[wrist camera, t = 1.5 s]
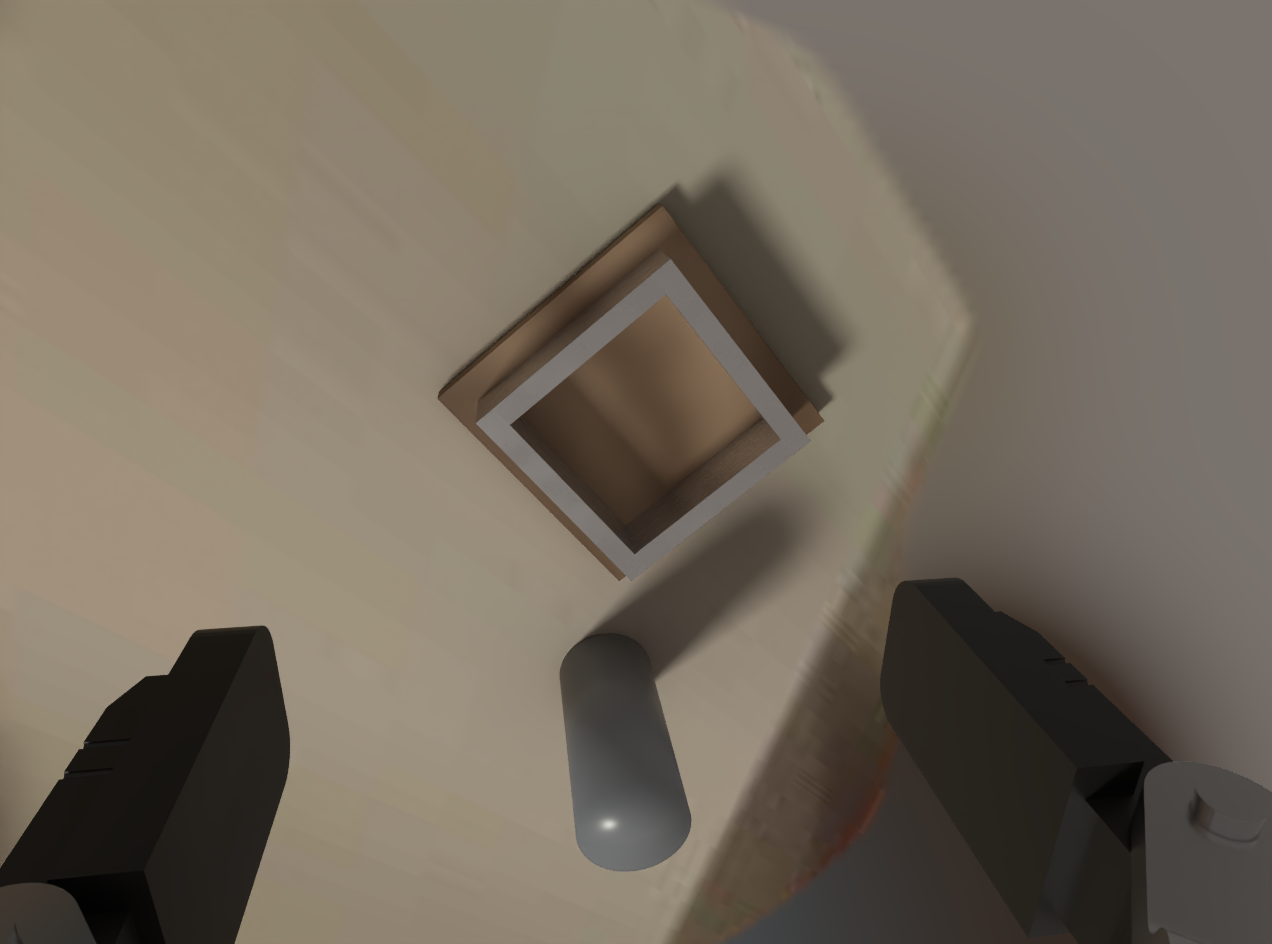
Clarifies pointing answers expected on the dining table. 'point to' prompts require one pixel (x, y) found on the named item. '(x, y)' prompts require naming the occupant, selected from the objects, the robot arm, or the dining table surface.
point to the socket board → (632, 383)
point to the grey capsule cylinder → (620, 757)
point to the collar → (693, 494)
